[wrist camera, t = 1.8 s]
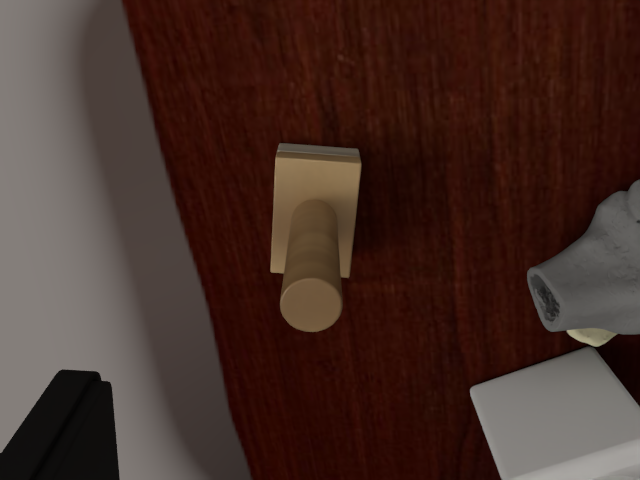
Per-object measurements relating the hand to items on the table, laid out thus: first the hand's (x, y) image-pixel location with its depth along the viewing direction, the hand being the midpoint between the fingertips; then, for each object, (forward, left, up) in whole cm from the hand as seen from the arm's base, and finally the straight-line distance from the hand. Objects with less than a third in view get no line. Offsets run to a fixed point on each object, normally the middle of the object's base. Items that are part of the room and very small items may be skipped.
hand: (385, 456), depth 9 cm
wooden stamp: (+3, -1, -20) cm, 21 cm away
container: (+16, +14, -21) cm, 30 cm away
